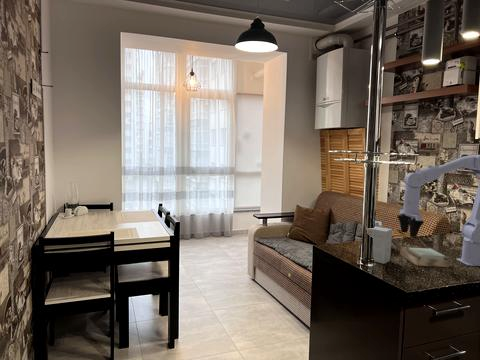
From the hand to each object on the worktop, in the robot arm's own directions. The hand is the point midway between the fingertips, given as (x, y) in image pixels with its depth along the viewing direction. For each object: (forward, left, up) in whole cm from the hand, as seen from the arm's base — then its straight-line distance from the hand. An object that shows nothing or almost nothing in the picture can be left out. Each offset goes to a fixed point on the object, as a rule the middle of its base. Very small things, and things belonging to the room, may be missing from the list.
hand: (408, 234), depth 149 cm
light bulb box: (+7, -18, -10) cm, 22 cm away
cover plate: (-6, +4, -7) cm, 10 cm away
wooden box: (-6, +3, -10) cm, 12 cm away
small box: (+14, +5, -10) cm, 18 cm away
